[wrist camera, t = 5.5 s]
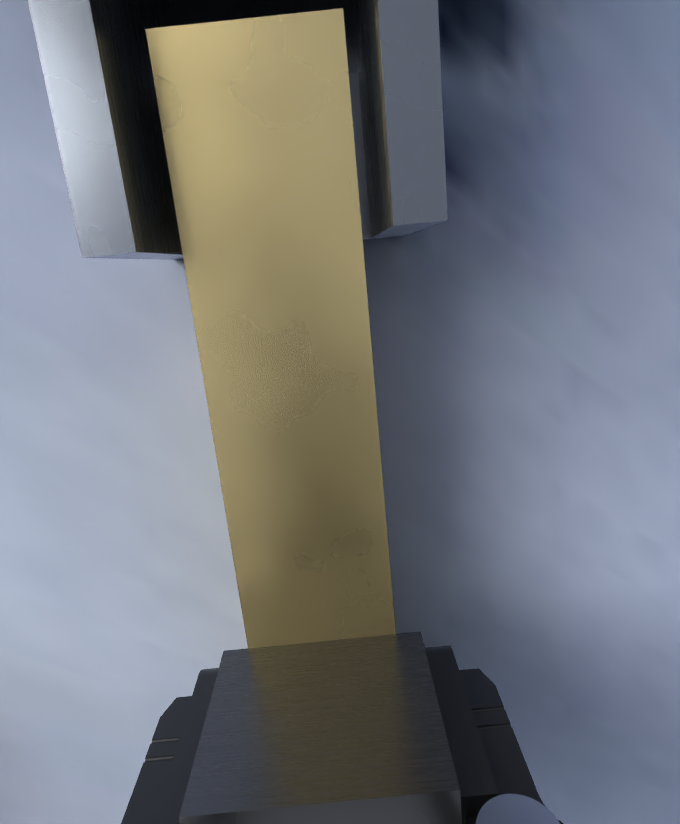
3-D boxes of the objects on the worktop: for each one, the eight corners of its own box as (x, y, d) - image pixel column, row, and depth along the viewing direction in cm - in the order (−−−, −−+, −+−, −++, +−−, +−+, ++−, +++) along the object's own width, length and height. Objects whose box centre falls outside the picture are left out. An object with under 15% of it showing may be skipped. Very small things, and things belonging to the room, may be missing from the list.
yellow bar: (167, 91, 11) (-33, -122, 5) (363, 70, 11) (407, -170, 5) (279, 787, 16) (248, 1126, 10) (418, 774, 16) (477, 1105, 10)
